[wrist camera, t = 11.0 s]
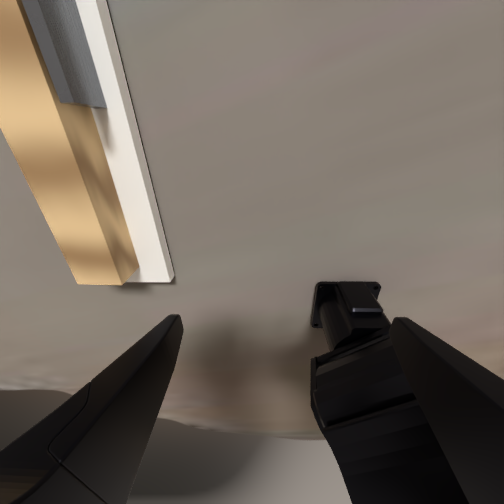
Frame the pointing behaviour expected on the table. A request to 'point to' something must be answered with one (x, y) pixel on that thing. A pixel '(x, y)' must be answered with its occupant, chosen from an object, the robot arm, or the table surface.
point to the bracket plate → (104, 113)
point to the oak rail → (61, 159)
